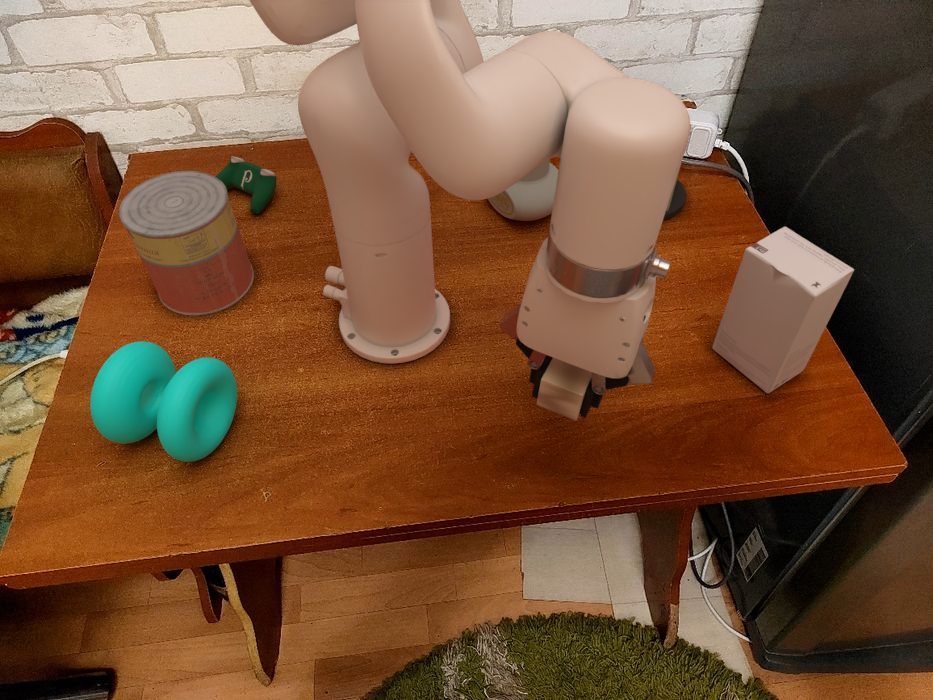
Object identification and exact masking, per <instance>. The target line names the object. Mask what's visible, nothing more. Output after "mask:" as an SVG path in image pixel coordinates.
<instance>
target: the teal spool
mask: <svg viewBox="0 0 933 700" xmlns="http://www.w3.org/2000/svg"><path fill="white" fill-rule="evenodd" d="M175 366H176V365H175V364H174V361H173V359H172V357H171V356H170V355H169V353H168V352H167V351H166V350H165V349H164V348H163V347H162V346H160V345H158V344H156V343H154V342H150V341H144V340H143V341H139V340H138V341H134V342H133V341H132V342H130V343H128V344H125V345H123V346H121V347H120V348H118V349H117V350H115V351H114V352H113V353H112V354H111V355H110V356H109V357H108V358H107V359H106V360H105V361H104V363H103V364H102V366H101V367H100V368H99V371H98V373H97V374H96V377H95V379H94V382H93V384H92V387H91V393H90V401H89V402H90V404H89V405H90V415H91V419H92V422H93V424H94V426H95V429H96V430H97V431H98V432H99V434H100V435H101V436H102V437H104V438H105V439H106V440H108V441H110V442H113V443H116V444H125V445H126V444H132V443H137V442H140V441H142V440H144V439H145V438H147V437H149V436H150V435H151V434H153V433H154V432H155V431H156V430H157V436H158V440H159V442H160V444H161V446H162V448H163V450H164V451H165V452H166V453H167V454H168V455H169V456H170V457H172V458H173V459H175V460H177V461H180V462H185V463H189V462H190V463H191V462H197V461H201V460H202V459H204V458H206V457H208V456H209V455H211V454H212V453H213V452H214V451H215V450H216V449H217V448H218V447H219V446H220V444H222V442H223V440H224V439H225V437H226V436H227V434H228V432H229V430H230V428H231V425H232V423H233V421H234V417H235V414H236V409H237V404H238V403H237V402H238V385H237V381H236V377H235V375H234V373H233V371H232V369H231V368H230V367H229V366H228V365H227V364H226V363H225V362H224V361H222V360H221V359H219V358H215V357H208V356H206V357H199V358H196V359H193V360H191V361H188V362H187V363H186V364H184V365H183V366H182V367H181V368H179V370H178V371H176V367H175Z"/></svg>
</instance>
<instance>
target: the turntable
mask: <svg viewBox="0 0 933 700" xmlns="http://www.w3.org/2000/svg"><path fill="white" fill-rule="evenodd" d="M686 200H687V192H686V187H684V185H683V184H682V182H680V180H679V179H677V181H676V185H675V189H674V192H673V196H672V200H671V203H670V207H669V211H666V212H665V215H664V218H663V221H666V220H669V219H671V218H673V217H675V216H677V215H679V213H680V212H681V211H682V210H683V208H684V206H685V203H686Z"/></svg>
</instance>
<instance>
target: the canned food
mask: <svg viewBox="0 0 933 700" xmlns="http://www.w3.org/2000/svg"><path fill="white" fill-rule="evenodd" d="M215 176H216V175H212V174H210V173H207V172H203V171H198V170H197V171H196V170H177V171H171V172H167V173H163V174H159V175H157V176H153V177H151V178H149V179H146V180H144V181H143V182H141V183H139V184H138V185H136V186H135V187H134V188H132V189H130V191H129V192H128V193H127V194H126V195H125V197H124V198H123V199H122V201H121V202H120V205H119V210H118V211H119V212H118V216H119V219H120V222H121V223H122V225H123V226H124V227H125V229H126V231H127V233H128V236H129V237H130V240H131V241H132V244H133V246H134V247H135V250H136V251H137V254H138V256H139V258H140V261H141V263H142V264H143V266H144V268H145V270H146V272H147V274H148V276H149V278H150V280H151V282H152V285H153V286H154V288H155V290H156V292H157V296H158V298H159V300H160V302H161V303H162V305H163V306H164V307H165V308H167V309H168V310H170V311H172V312H173V313H176V314H180V315H184V316H193V317H195V316H206V315H212V314H215V313H218V312H222V311H224V310H226V309H228V308H230V307H232V306H233V305H235V304H237V303H238V302H239V301H240V300H242V299H243V297H245V296H246V294H248V292H249V290H250V289H251V287H252V286H253V283H254V278H255V272H254V269H253V265H252V264H251V261H250V258H249V255H248V252H247V250H246V246H245V242H244V240H243V237H242V234H241V231H240V229H239V226H238V225H239V224H238V223H237V220H236V216H235V213H234V210H233V207H232V205H231V204H232V203H231V201H230V198H229V194H228V193H229V192H228V191H227V189H226V187H225V185H224V184H223V182H222V181H221V180H219V179H218V178H216V177H215Z"/></svg>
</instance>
